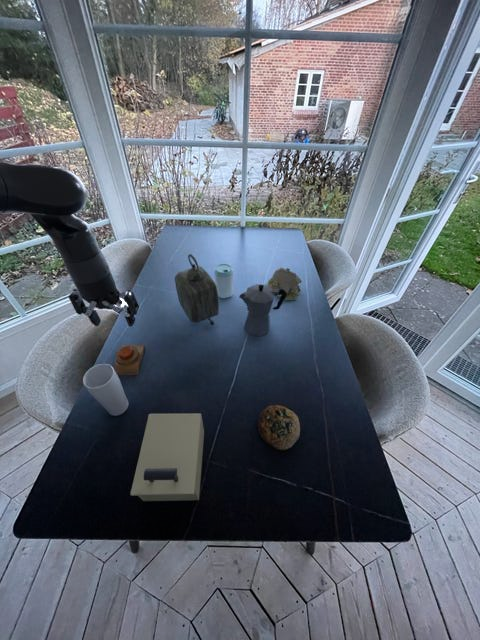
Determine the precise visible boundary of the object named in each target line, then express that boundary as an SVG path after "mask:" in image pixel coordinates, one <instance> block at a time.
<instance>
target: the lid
mask: <svg viewBox="0 0 480 640" xmlns="http://www.w3.org/2000/svg"><path fill="white" fill-rule="evenodd" d="M201 416H202V413H149V414H148V417H147V421H146V426H145V430H144V435H143V439H142V442H141V446H140V451H139V456H138V459H137V464H136V468H135V473H134V477H133V480H132V485H131V489H130V494H129V495H130V496H131V497H134V496H135V497H137V496H138V497H139V496H145V495H194V493H195V482H196V470H197V459H198V448H199V436H200V425H201Z"/></svg>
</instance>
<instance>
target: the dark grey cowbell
mask: <svg viewBox="0 0 480 640" xmlns="http://www.w3.org/2000/svg"><path fill="white" fill-rule="evenodd" d="M187 257H188V261H189V264H190V267H191V268H188V269H185V270H182V271H179V272H178V273H176V275H175V276H174V283H175V290H176V294H177V299H178V302H179V305H180V306H181V308H182V309H183V311H184V313H185V315H186V316H187V318H188V319H189V321H191V322H192V323H201V322H203V321H206V320H208V321H209V324H210V325H211V326H214V325H215V324H216V322H215V320H213V319H212V318H213V317H217V316H219V311H220V310H219V308H220V307H219V306H220V305H219V297H218V293H217V288H216V285H215V282H214V279H213V278H212V277H211V276H210V274H209V273H208V272H207V271H206V270H205V269H204V268H203V267H202V266H201V265H199V264H198V261H197V259H196V257H194V255H193V254H192V253H188V256H187ZM192 260H193V262H194V263H193V262H192Z"/></svg>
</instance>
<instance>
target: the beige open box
mask: <svg viewBox="0 0 480 640" xmlns="http://www.w3.org/2000/svg"><path fill="white" fill-rule="evenodd" d="M204 440H205V428H204V421H203V415H201V425H200V436H199V448H198V459H197V470H196V482H195V493H194V495H145V496H138V498H139V499H140V500H141V501H143V502H172V501H173V502H175V501H176V502H177V501H200V493H201V492H200V490H201V477H202V467H203V453H204Z"/></svg>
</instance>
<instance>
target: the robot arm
mask: <svg viewBox="0 0 480 640" xmlns="http://www.w3.org/2000/svg"><path fill="white" fill-rule="evenodd" d="M87 201H88V192H87V189H86V186H85V185H84V183H83V181H82V180H81V178H79V177H78V175H76V174H75V173H73V172H72V171H70V170H68V169H65V168H62V167H56V166H49V165H43V164H37V163H25V164H16V163H15V164H14V163H9V162H5V161H1V160H0V215H9V214H29V215H30V216H31V217H32V218H33V219H34V221H35V222H36V224H38V225H39V227H40V228H41V229H42V230H43V231H44V232H45V233H46V234H47V235H48V237H49V238H51V241H52V242H53V245H54V246H55V248H56V250H57V252H58V254H59V255H60V257H61V259H62V261H63V264H64V267H65V269H66V272H67V273H68V275H69V277H70V279H71V281H72V282H73V284H74V286H75V288H73V289H72V291H71V292H70V293H69V295H68V299H69V301H70V303H71V305H72V307H73V308H74V311H75V313H76V314H77V315H84V316H86V317H88V320H89V321H90V323H91V324H92V325H94V327H100V324H101V322H102V319H101V317H100V316H99V313H98V312H97V310H95V308H96V309H98V310H105V309H106V310H113V311H114V312H116V313H118V314H119V313H120V314H122V315H123V316H124V318H125V319H124V320H125V321H126V323H127V325H128V327H133V325H135V322H136V317H135V316H137V314H138V311H139V309H140V305H139V303H138V301H137V298H136V296H135V294H134V291H133V290H132V289H126V291H123V292H122V291H120V290H118V288H117V284H116V281H115V279H114V276H113V274H112V271H111V269H110V266H109V263H108V262H107V259H106V257H105V254H103V252H102V250H101V248H100V245H99V243H98V240H97V238H96V236H95V234H94V231H93V229H92V227H91V226H90V224H89V223H87V222H86V221H85V220H83V219H81V218H79V217H77V216H75V215H76V214H77V213H80V212H81V211H82V210H83V209H84V207H86V204H87ZM85 302H87V303H88V304H89V305H88V306H86V303H85ZM117 304H118V305H117Z"/></svg>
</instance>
